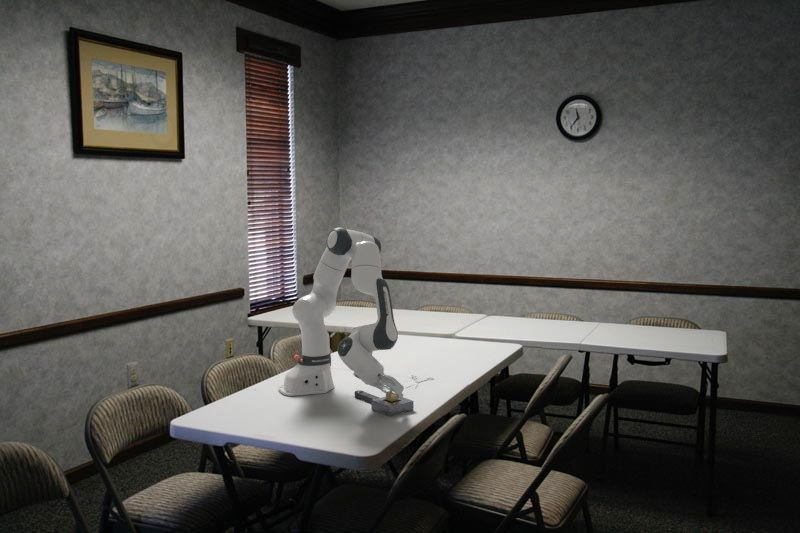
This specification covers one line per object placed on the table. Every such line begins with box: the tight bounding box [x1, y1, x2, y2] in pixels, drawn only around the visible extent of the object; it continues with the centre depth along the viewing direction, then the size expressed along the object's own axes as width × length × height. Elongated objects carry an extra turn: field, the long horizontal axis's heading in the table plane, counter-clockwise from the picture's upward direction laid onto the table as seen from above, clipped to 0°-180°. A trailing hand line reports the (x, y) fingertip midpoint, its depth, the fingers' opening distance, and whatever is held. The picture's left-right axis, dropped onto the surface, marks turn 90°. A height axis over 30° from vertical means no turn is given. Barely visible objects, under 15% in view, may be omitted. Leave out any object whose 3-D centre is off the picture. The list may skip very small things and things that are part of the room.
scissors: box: [407, 374, 435, 389], centre depth 291 cm, size 11×1×20 cm
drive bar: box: [385, 391, 398, 403], centre depth 253 cm, size 3×3×8 cm
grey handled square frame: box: [354, 389, 414, 417], centre depth 261 cm, size 11×29×4 cm, turn 38°
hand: (393, 393), depth 254 cm, fingers open, 8 cm apart
